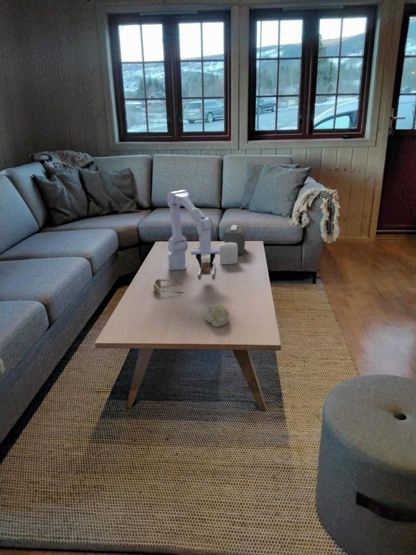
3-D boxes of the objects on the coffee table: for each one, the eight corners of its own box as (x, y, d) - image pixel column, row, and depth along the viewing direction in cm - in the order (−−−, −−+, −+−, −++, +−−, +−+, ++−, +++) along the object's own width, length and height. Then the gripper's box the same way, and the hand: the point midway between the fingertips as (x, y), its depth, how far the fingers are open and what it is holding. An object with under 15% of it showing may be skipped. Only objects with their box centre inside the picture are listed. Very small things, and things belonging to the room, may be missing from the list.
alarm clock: (227, 247, 264) (226, 223, 258) (245, 247, 263) (245, 223, 256) (224, 255, 249) (224, 231, 243) (243, 256, 248) (243, 231, 242)
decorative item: (239, 314, 172) (220, 311, 166) (230, 332, 174) (211, 330, 169) (224, 300, 181) (206, 297, 175) (216, 317, 184) (198, 315, 178)
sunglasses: (153, 285, 214) (154, 276, 212) (182, 286, 215) (183, 278, 214) (152, 297, 201) (153, 287, 199) (183, 298, 202) (184, 289, 201)
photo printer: (236, 261, 240) (236, 240, 235) (238, 263, 236) (238, 243, 232) (219, 262, 239) (218, 242, 234) (220, 265, 235) (220, 244, 230)
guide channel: (198, 278, 219) (198, 274, 219) (200, 266, 234) (199, 263, 233) (214, 277, 219) (214, 274, 218) (215, 266, 234) (215, 263, 233)
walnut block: (201, 274, 208) (200, 263, 206) (202, 268, 215) (201, 257, 213) (210, 274, 208) (209, 263, 205) (210, 268, 215) (210, 257, 213)
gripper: (189, 245, 203) (191, 270, 208) (219, 244, 202) (220, 270, 207) (191, 240, 209) (192, 265, 215) (219, 240, 209) (220, 265, 214)
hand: (206, 267), depth 211 cm, fingers closed on walnut block, 4 cm apart
